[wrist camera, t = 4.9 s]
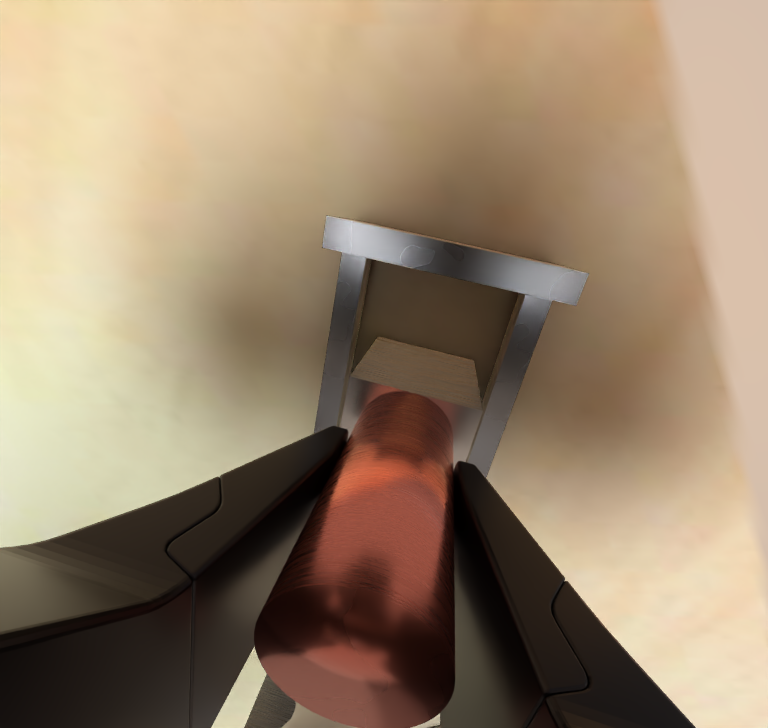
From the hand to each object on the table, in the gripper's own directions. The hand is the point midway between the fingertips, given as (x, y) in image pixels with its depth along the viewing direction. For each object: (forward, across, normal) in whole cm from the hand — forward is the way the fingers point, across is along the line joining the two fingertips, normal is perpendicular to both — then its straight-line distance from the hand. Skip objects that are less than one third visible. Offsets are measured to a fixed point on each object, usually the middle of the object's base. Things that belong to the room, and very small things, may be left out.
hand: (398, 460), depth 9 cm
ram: (+5, 0, +1) cm, 5 cm away
